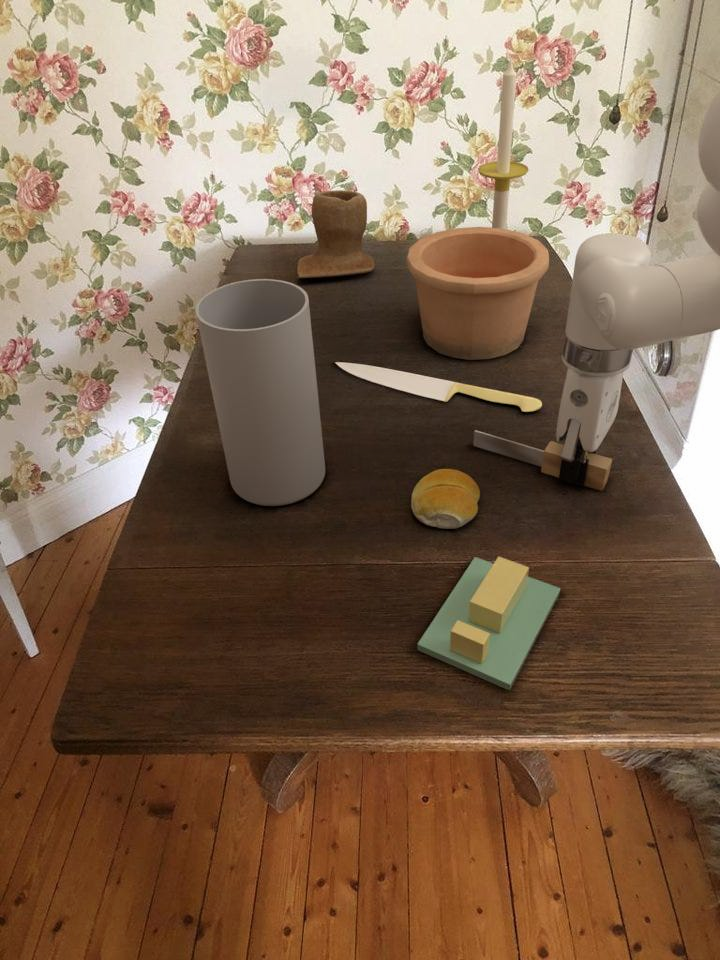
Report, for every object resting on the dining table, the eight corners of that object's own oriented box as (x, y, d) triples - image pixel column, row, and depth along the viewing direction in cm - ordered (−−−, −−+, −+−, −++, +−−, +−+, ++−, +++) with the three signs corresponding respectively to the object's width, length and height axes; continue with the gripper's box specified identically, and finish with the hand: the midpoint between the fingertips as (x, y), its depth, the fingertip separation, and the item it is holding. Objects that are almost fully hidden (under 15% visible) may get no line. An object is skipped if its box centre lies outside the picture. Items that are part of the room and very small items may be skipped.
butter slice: (488, 652, 75) (490, 633, 73) (481, 664, 74) (483, 644, 72) (456, 638, 76) (457, 619, 74) (449, 650, 75) (450, 630, 73)
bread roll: (481, 486, 96) (482, 461, 93) (474, 534, 89) (476, 508, 87) (416, 480, 97) (416, 455, 95) (406, 526, 91) (405, 501, 88)
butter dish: (559, 594, 81) (564, 568, 79) (509, 690, 72) (512, 665, 70) (474, 562, 86) (476, 537, 83) (417, 650, 77) (417, 624, 74)
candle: (471, 268, 146) (481, 49, 122) (523, 270, 144) (544, 48, 120) (466, 291, 139) (476, 63, 115) (521, 293, 137) (543, 62, 113)
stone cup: (370, 255, 153) (367, 180, 144) (377, 280, 144) (374, 201, 135) (296, 261, 153) (288, 186, 143) (298, 287, 143) (290, 208, 134)
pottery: (401, 367, 119) (399, 282, 110) (415, 303, 136) (415, 225, 127) (541, 372, 116) (551, 285, 107) (537, 306, 132) (546, 226, 123)
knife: (326, 377, 119) (340, 359, 122) (533, 425, 106) (544, 403, 109) (324, 371, 119) (339, 353, 121) (533, 418, 105) (544, 396, 108)
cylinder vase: (305, 517, 93) (281, 337, 77) (214, 499, 96) (174, 323, 80) (339, 457, 102) (324, 284, 86) (255, 442, 105) (226, 274, 89)
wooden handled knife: (607, 480, 96) (612, 458, 93) (601, 491, 94) (606, 469, 92) (477, 440, 103) (478, 419, 101) (469, 450, 101) (471, 429, 99)
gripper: (609, 391, 78) (583, 522, 89) (650, 324, 88) (623, 449, 100) (539, 374, 81) (524, 502, 93) (587, 311, 91) (568, 434, 103)
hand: (575, 474), depth 96 cm, fingers closed on wooden handled knife, 2 cm apart
